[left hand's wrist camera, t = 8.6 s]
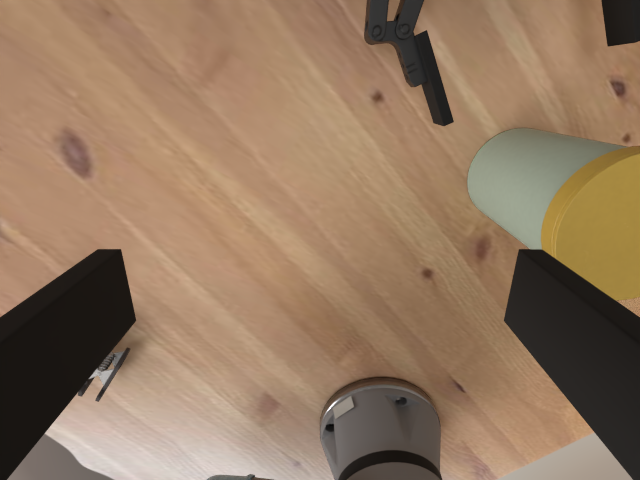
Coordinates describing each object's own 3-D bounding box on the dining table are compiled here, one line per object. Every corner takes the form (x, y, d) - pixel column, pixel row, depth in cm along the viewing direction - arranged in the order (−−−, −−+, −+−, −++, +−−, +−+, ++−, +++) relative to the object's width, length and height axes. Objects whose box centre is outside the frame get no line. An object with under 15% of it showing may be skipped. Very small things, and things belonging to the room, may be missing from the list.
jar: (518, 107, 34) (654, 119, 20) (579, 167, 36) (741, 216, 22) (447, 183, 37) (524, 240, 23) (509, 235, 39) (613, 317, 25)
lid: (637, 110, 21) (662, 112, 20) (728, 209, 23) (756, 217, 22) (509, 234, 24) (522, 244, 22) (600, 311, 26) (617, 325, 25)
